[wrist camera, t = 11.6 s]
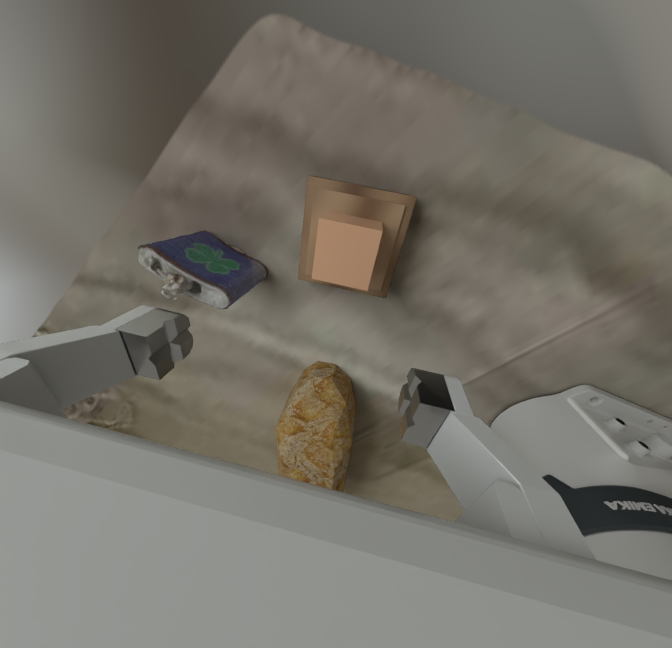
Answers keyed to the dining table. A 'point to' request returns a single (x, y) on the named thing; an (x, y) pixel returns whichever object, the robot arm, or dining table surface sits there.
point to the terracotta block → (346, 250)
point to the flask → (202, 268)
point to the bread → (317, 427)
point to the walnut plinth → (362, 204)
